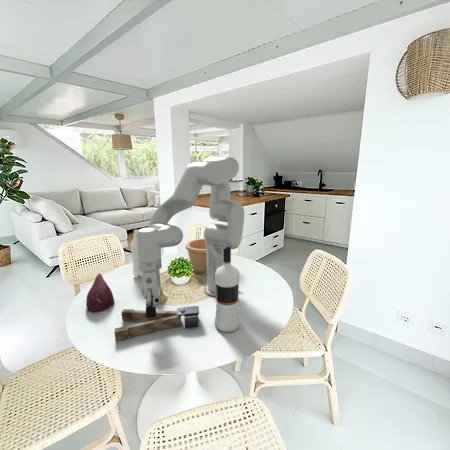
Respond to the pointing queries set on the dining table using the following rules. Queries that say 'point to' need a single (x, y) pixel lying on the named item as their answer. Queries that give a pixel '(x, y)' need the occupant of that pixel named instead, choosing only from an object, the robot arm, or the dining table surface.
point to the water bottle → (135, 257)
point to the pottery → (197, 255)
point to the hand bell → (161, 297)
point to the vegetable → (99, 296)
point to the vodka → (227, 294)
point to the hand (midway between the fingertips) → (153, 309)
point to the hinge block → (189, 316)
